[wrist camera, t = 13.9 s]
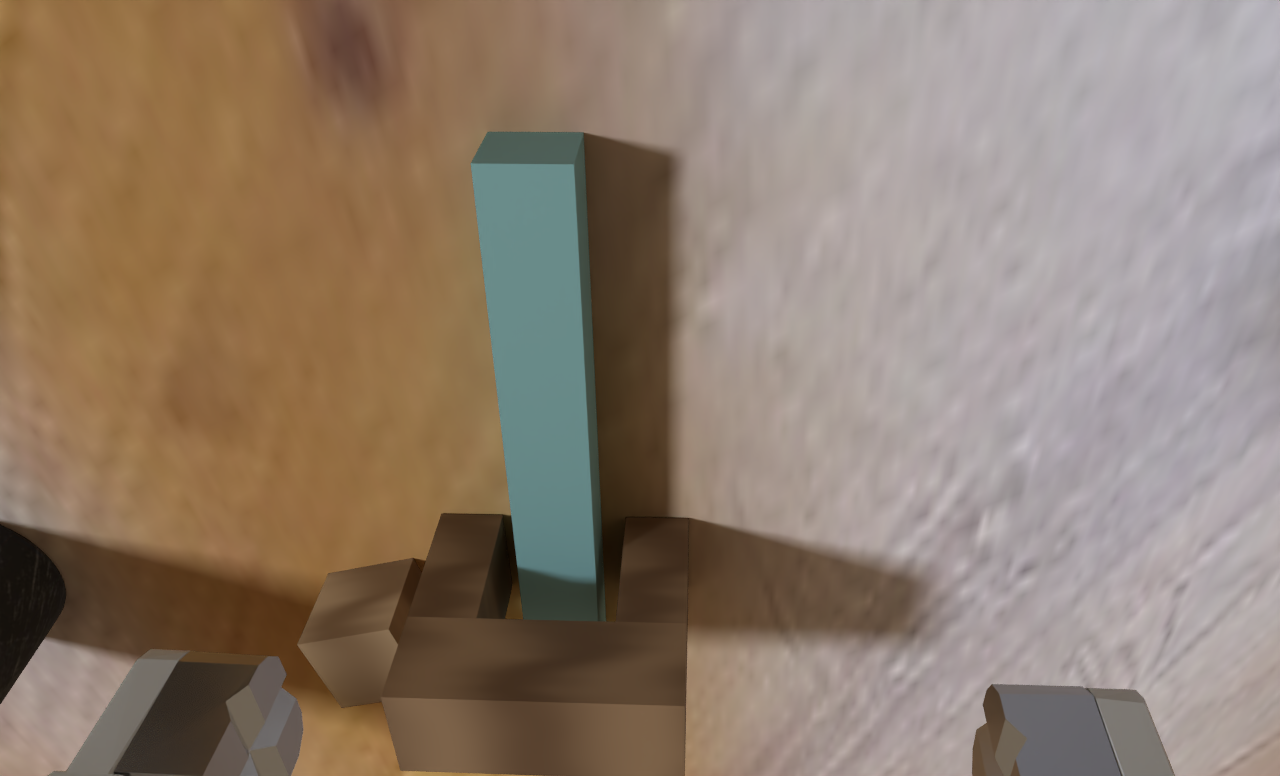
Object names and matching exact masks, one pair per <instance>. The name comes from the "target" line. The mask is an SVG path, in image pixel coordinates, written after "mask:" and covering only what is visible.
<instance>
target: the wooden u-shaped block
mask: <svg viewBox="0 0 1280 776" xmlns="http://www.w3.org/2000/svg"><path fill="white" fill-rule="evenodd" d="M688 520H689V518H644V517H626V523H625V533H624V543H623V553H622V564H621V574H620V584H619V594H618V604H617V614H616V622H605V621H564V620H523V619H505V616H506V612H507V607H508V603H509V598H510V594H511V589H512V579H511V572H510V565H509V558H508V551H507V543H506V536H505V529H504V522H503V515H479V514H441V517H440V520H439V523H438V526H437V529H436V532H435V535H434V538H433V541H432V544H431V547H430V550H429V553H428V556H427V559H426V562H425V565H424V568H423V571H422V574H421V577H420V580H419V583H418V586H417V589H416V592H415V595H414V598H413V601H412V604H411V607H410V610H409V613H408V616H407V619H406V622H405V625H404V628H403V631H402V634H401V637H400V641H399V644H398V647H397V650H396V653H395V656H394V659H393V662H392V665H391V668H390V671H389V674H388V677H387V680H386V683H385V686H384V689H383V692H382V695H381V700H382V704H383V708H384V711H385V715H386V719H387V722H388V726H389V730H390V733H391V737H392V741H393V745H394V748H395V752H396V756H397V759H398V763H399V767H400V770H401V771H426V772H456V773H485V774H515V775H544V776H685V734H686V680H687V626H688Z"/></svg>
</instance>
